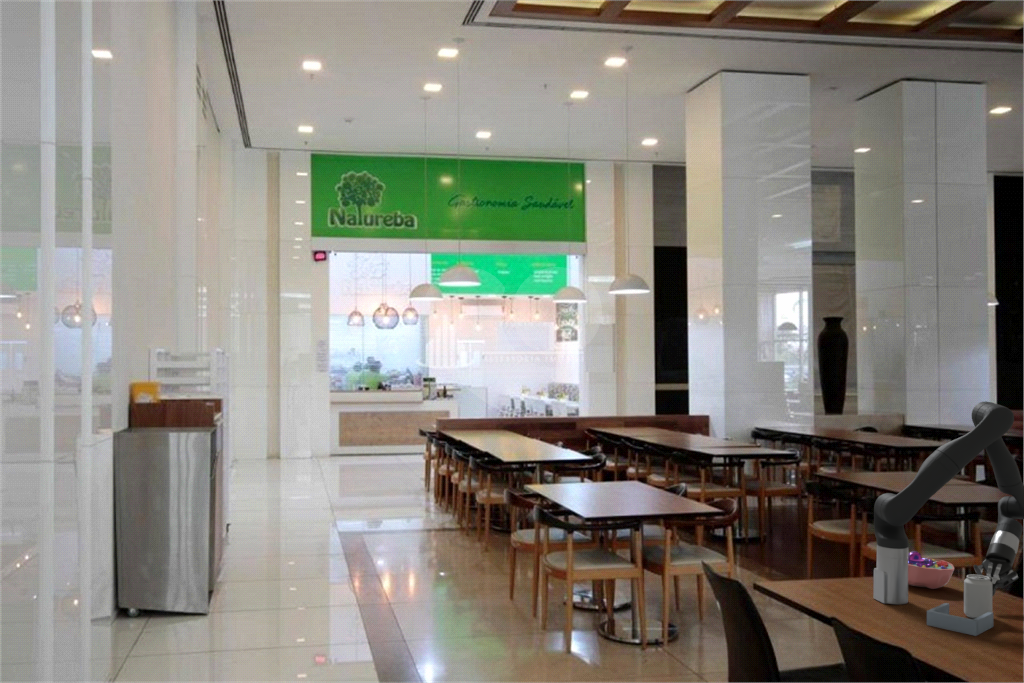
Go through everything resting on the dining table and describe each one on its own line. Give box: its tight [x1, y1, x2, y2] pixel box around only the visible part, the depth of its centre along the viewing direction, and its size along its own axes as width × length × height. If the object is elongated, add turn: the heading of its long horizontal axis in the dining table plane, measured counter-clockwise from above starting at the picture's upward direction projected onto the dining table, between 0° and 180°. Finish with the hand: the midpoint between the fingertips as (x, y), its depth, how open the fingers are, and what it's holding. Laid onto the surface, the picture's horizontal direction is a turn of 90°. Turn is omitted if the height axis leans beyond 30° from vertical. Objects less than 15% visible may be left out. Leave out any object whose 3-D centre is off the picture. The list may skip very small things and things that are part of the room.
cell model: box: [908, 550, 955, 590], centre depth 306 cm, size 17×20×11 cm
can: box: [963, 573, 993, 619], centre depth 272 cm, size 8×8×12 cm
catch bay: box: [926, 602, 994, 637], centre depth 263 cm, size 13×13×4 cm
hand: (987, 595), depth 277 cm, fingers closed
